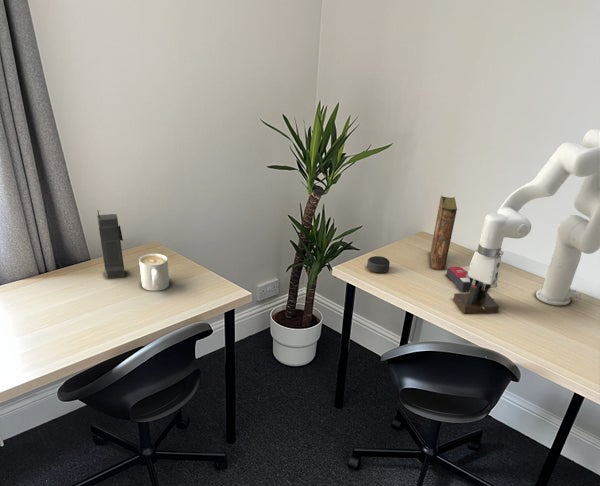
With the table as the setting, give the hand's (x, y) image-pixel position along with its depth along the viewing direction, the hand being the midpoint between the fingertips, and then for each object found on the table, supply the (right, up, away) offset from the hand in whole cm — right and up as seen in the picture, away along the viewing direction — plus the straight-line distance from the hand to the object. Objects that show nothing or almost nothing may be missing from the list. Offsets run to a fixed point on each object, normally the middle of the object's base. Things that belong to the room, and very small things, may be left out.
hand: (477, 297), depth 222 cm
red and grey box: (+1, +9, +18) cm, 20 cm away
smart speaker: (-33, +15, +24) cm, 44 cm away
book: (-7, +20, +33) cm, 39 cm away
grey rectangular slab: (0, -1, +1) cm, 1 cm away
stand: (0, -3, +2) cm, 3 cm away
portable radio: (-134, +10, +8) cm, 135 cm away
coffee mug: (-118, +4, +2) cm, 118 cm away
